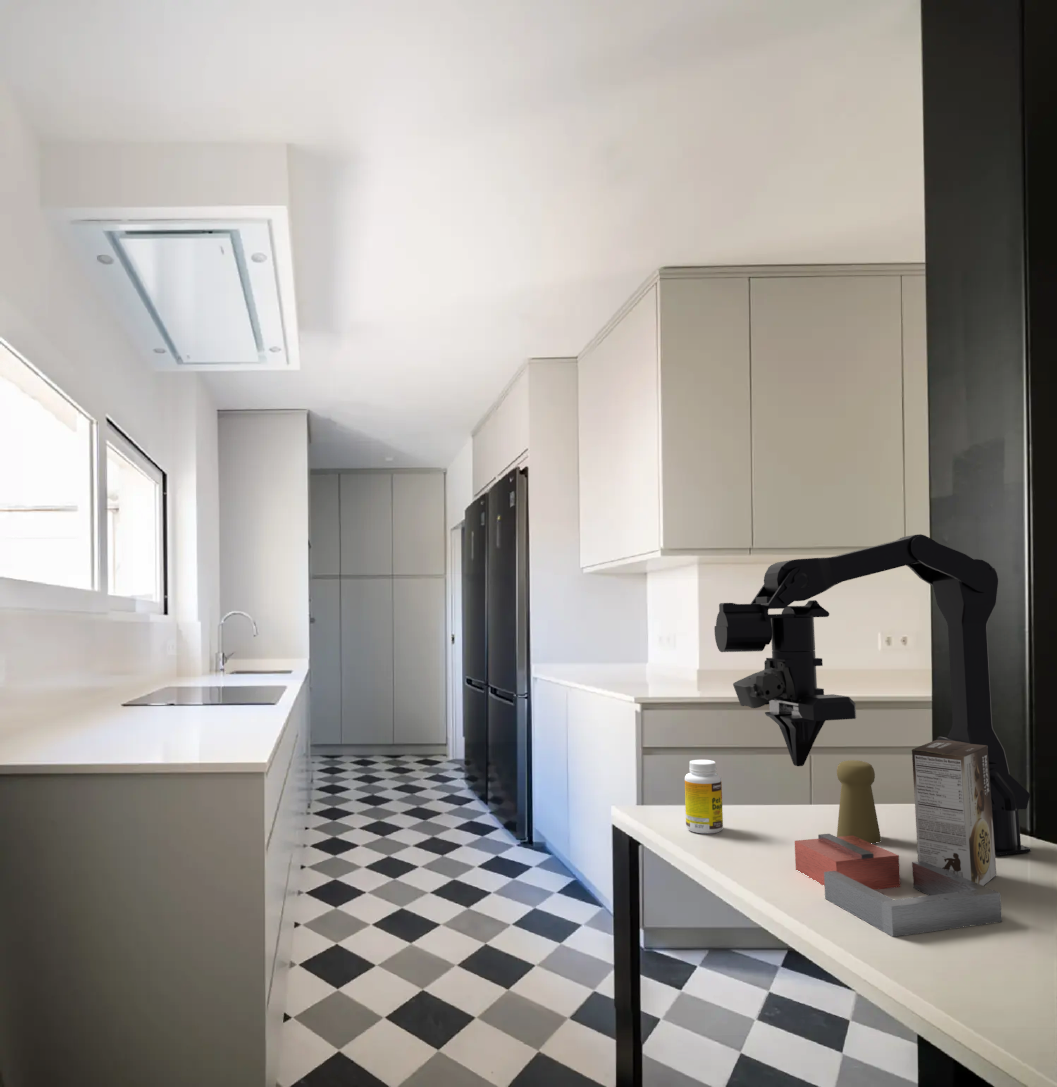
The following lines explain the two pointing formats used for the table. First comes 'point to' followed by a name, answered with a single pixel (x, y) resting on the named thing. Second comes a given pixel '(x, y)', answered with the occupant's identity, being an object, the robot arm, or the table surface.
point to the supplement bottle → (703, 798)
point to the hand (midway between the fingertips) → (798, 765)
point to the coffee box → (954, 808)
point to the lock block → (848, 860)
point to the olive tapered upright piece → (857, 801)
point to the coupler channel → (918, 902)
